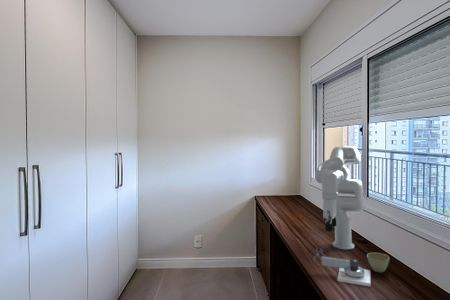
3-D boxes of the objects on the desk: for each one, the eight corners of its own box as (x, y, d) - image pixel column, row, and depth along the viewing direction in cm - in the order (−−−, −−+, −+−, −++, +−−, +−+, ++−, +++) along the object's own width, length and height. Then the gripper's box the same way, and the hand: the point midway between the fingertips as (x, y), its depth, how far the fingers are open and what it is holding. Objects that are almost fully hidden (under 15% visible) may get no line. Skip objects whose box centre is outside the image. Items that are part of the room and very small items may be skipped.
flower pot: (368, 264, 151) (367, 251, 151) (389, 268, 146) (389, 254, 146) (366, 272, 142) (366, 258, 142) (389, 276, 137) (389, 261, 137)
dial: (364, 270, 140) (364, 258, 140) (364, 279, 132) (363, 265, 132) (323, 264, 149) (322, 252, 149) (320, 272, 141) (320, 259, 141)
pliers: (315, 262, 155) (305, 248, 175) (315, 264, 155) (305, 250, 175) (333, 261, 155) (320, 247, 175) (333, 263, 155) (320, 249, 175)
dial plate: (340, 268, 148) (340, 265, 148) (370, 273, 142) (370, 269, 141) (337, 281, 135) (337, 277, 135) (370, 286, 129) (370, 282, 129)
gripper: (326, 192, 156) (327, 223, 156) (318, 198, 141) (319, 232, 142) (340, 193, 152) (341, 224, 152) (334, 199, 137) (335, 234, 138)
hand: (331, 228), depth 147 cm, fingers open, 9 cm apart
